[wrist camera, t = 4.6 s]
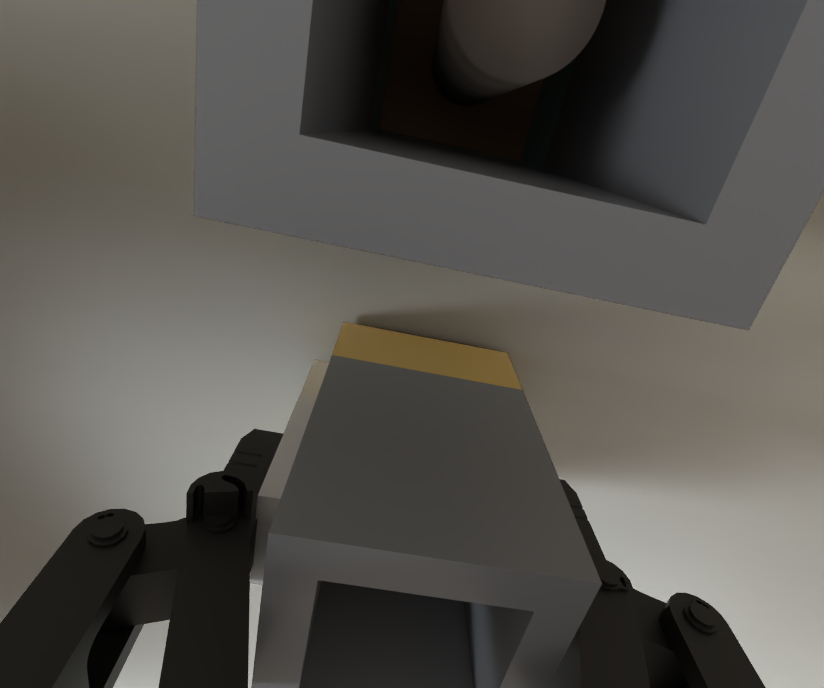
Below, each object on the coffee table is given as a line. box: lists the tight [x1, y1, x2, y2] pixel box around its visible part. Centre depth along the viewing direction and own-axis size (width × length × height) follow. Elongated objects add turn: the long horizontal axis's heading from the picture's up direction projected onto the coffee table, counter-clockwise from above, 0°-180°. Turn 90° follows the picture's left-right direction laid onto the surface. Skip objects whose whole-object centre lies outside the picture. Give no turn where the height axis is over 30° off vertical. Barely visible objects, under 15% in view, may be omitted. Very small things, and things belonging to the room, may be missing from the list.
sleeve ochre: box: [252, 322, 602, 688], centre depth 13 cm, size 6×6×9 cm
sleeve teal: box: [194, 0, 824, 330], centre depth 8 cm, size 6×6×9 cm
